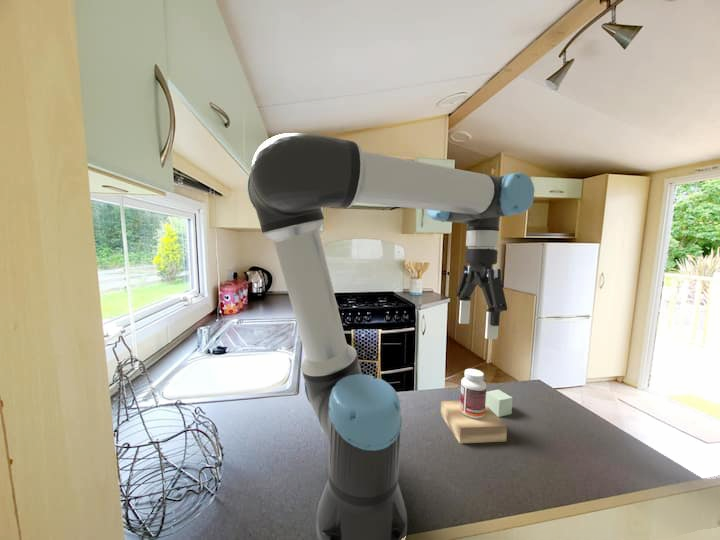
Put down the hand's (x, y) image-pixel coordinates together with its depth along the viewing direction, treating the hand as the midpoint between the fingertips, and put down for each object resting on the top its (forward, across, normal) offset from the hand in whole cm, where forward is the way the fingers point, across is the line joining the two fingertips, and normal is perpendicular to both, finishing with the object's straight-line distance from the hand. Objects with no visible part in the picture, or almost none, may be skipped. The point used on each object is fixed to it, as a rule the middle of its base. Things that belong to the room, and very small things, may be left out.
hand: (476, 330), depth 73 cm
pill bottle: (+22, 0, 0) cm, 22 cm away
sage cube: (+26, +7, -12) cm, 30 cm away
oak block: (+26, 0, 0) cm, 26 cm away
